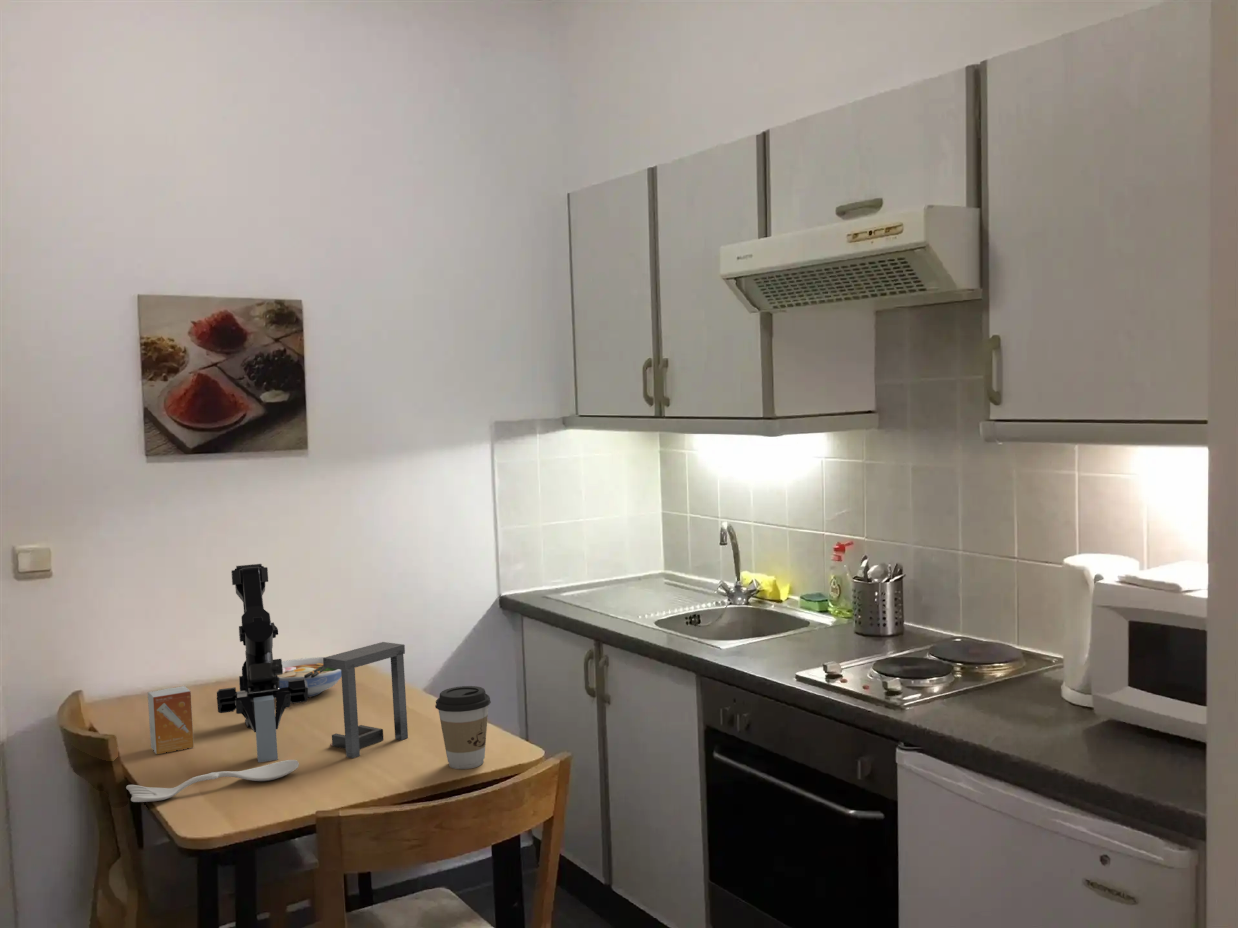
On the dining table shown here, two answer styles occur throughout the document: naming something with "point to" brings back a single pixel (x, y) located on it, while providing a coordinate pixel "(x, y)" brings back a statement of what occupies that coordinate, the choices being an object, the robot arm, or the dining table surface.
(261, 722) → the blue-grey rectangular block
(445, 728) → the coffee cup
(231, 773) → the spoon
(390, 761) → the dining table surface
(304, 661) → the ramen bowl
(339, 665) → the overhang seat
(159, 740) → the small box
